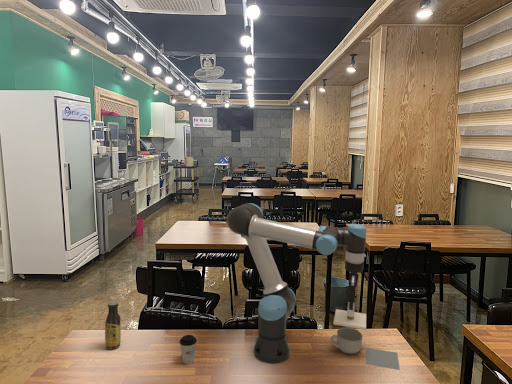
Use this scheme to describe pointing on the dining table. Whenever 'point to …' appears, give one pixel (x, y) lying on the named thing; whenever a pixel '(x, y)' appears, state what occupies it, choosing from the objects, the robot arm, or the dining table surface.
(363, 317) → the lid
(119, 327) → the sauce bottle
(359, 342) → the teacup
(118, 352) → the dining table surface
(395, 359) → the mat
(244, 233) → the robot arm
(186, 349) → the coffee cup
